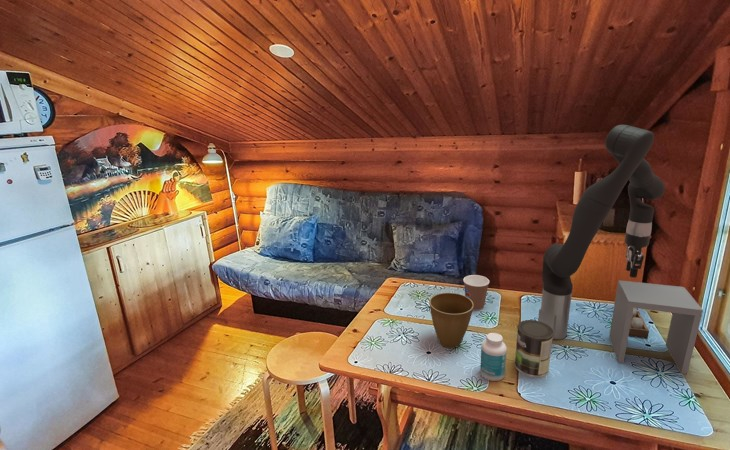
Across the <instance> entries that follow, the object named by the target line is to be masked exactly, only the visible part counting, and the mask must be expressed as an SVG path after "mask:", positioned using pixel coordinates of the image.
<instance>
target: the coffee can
mask: <svg viewBox="0 0 730 450" xmlns="http://www.w3.org/2000/svg"><path fill="white" fill-rule="evenodd" d="M516 330H517V333H516V343H515V344H516V345H515V354H514V355H515V357H514V367H515V368H516V370H517V371H518V372H519V373H521V374H523V375H524V376H526V377H527V376H528V377H530V378H543V377H546V376H547V375H548V374H549V372H550V361H551V354H552V347H553V346H552V345H553V340H552V338H553V334H554V331H553V329H552V328H551V327H550V326H549V325H547V324H545V323H543V322H540V321H538V320H534V319H526V320H522V321H520V322H518V323H517V329H516Z"/></svg>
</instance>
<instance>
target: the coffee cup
mask: <svg viewBox="0 0 730 450" xmlns="http://www.w3.org/2000/svg"><path fill="white" fill-rule="evenodd" d="M489 284H490V280H489V279H488V278H487V277H486V276H483V275H479V274H471V275H466V276H464V278H463V286H464V287H463V288H464V296H466V297H468V298H469V299H471V301H472V302H473V310H472V311H481V310H483V309H484V307H485V305H486V300H487V299H486V298H487V294H488V290H489Z"/></svg>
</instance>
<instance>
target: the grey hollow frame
mask: <svg viewBox="0 0 730 450" xmlns="http://www.w3.org/2000/svg"><path fill="white" fill-rule="evenodd" d="M613 304H614V305H613V311H612V312H613V313H612V317H611V322H610V323H611V324H610V328H609V329H610V330H609V335H608V337H609V341H610V345H611V346H612V349H614V350H613V352H615V353H614V355H615V359H616V361H617V363H618V362H619V364H624V362H625V355H626V351H627V346H628V341H629V336H628V335H629V330H630V325H631V319H632V314H633V308H637V309H640V310H648V311H657V312H665V313H671V317H670V318H671V319H670V324H669V329H668V332H667V336H666V342H665V347H666V349H667V351H668V352H669V354H670V356H671V357H672V360H673V361H674V362H675V365H676V367H677V368H678V371H679V372H680V374H683V375H688V373H689V369H690V365H691V360H692V357H693V352H694V349H695V344H696V340H697V335H698V332H699V328H700V324H701V321H702V316H703V312H704V311H703V310H704V309H703V308H702V307H701V306H700V305H699V303H698V302H697V300H696V299H695V298H694V297H693V296H692V295H691V294H690V292H689V291H688V290H687V289H686V288H685V287H684V286H679V285H677V286H676V285H668V284H657V283H648V282H647V283H646V282H638V281H628V280H621V279H619V280H617V286H616V293H615V299H614V303H613Z"/></svg>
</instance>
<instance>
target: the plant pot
mask: <svg viewBox="0 0 730 450" xmlns="http://www.w3.org/2000/svg"><path fill="white" fill-rule="evenodd" d="M429 310H430V316H431V320H432V324H433V329H434V331H435V335H436V337H437V339H438V343H439V344H440V345H441V346H443V347H445V348H448V349H454V348H457V347H460V345H461V343H462V341H463V339H464V336H465V335H466V332H467V330H468V327H469V324H470V323H471V322H470V321H471V319H472V318H471V317H472V313H473V311H474V310H473V302H472V301H471V299H469V298H468V297H466V296H465V294H460V293H455V292H441V293H436V294H435V295H433V296H431V297H430V299H429Z"/></svg>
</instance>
